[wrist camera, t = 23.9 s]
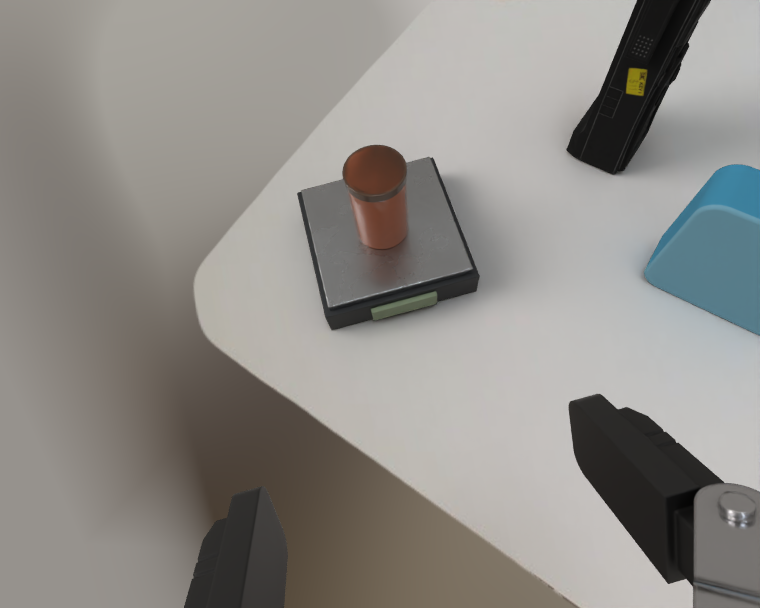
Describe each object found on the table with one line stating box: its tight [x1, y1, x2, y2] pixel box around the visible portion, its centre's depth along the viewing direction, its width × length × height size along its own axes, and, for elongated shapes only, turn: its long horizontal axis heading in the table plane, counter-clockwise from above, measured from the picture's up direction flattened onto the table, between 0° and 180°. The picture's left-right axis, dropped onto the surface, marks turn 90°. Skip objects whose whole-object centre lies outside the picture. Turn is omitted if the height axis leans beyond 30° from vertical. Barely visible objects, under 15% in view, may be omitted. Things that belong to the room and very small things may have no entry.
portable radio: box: [567, 0, 711, 174], centre depth 40 cm, size 8×6×25 cm
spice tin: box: [342, 145, 409, 249], centre depth 41 cm, size 5×5×8 cm
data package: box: [644, 164, 760, 335], centre depth 38 cm, size 12×4×12 cm, turn 56°
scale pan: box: [301, 157, 473, 311], centre depth 45 cm, size 13×13×1 cm
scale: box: [297, 158, 479, 330], centre depth 47 cm, size 14×14×3 cm
